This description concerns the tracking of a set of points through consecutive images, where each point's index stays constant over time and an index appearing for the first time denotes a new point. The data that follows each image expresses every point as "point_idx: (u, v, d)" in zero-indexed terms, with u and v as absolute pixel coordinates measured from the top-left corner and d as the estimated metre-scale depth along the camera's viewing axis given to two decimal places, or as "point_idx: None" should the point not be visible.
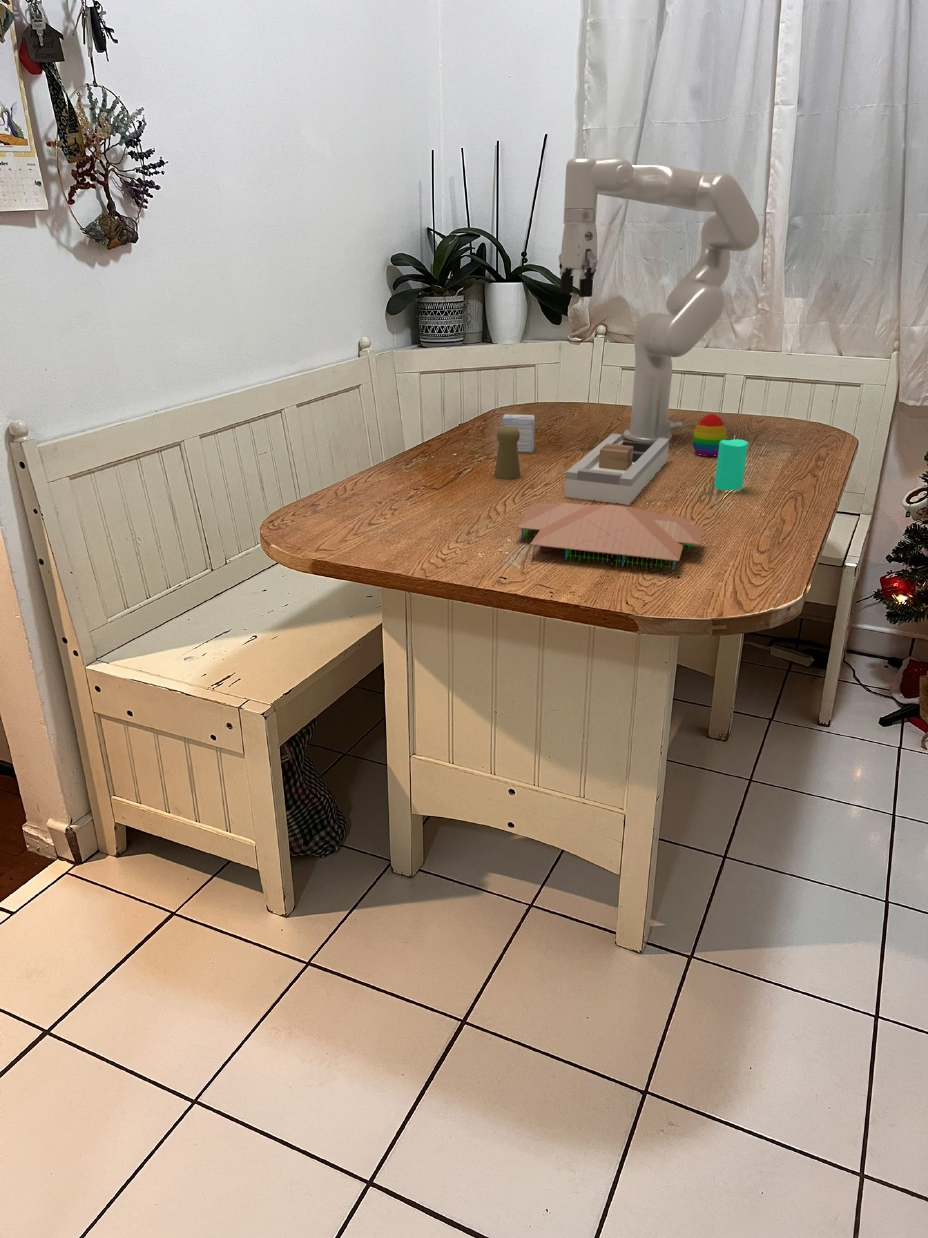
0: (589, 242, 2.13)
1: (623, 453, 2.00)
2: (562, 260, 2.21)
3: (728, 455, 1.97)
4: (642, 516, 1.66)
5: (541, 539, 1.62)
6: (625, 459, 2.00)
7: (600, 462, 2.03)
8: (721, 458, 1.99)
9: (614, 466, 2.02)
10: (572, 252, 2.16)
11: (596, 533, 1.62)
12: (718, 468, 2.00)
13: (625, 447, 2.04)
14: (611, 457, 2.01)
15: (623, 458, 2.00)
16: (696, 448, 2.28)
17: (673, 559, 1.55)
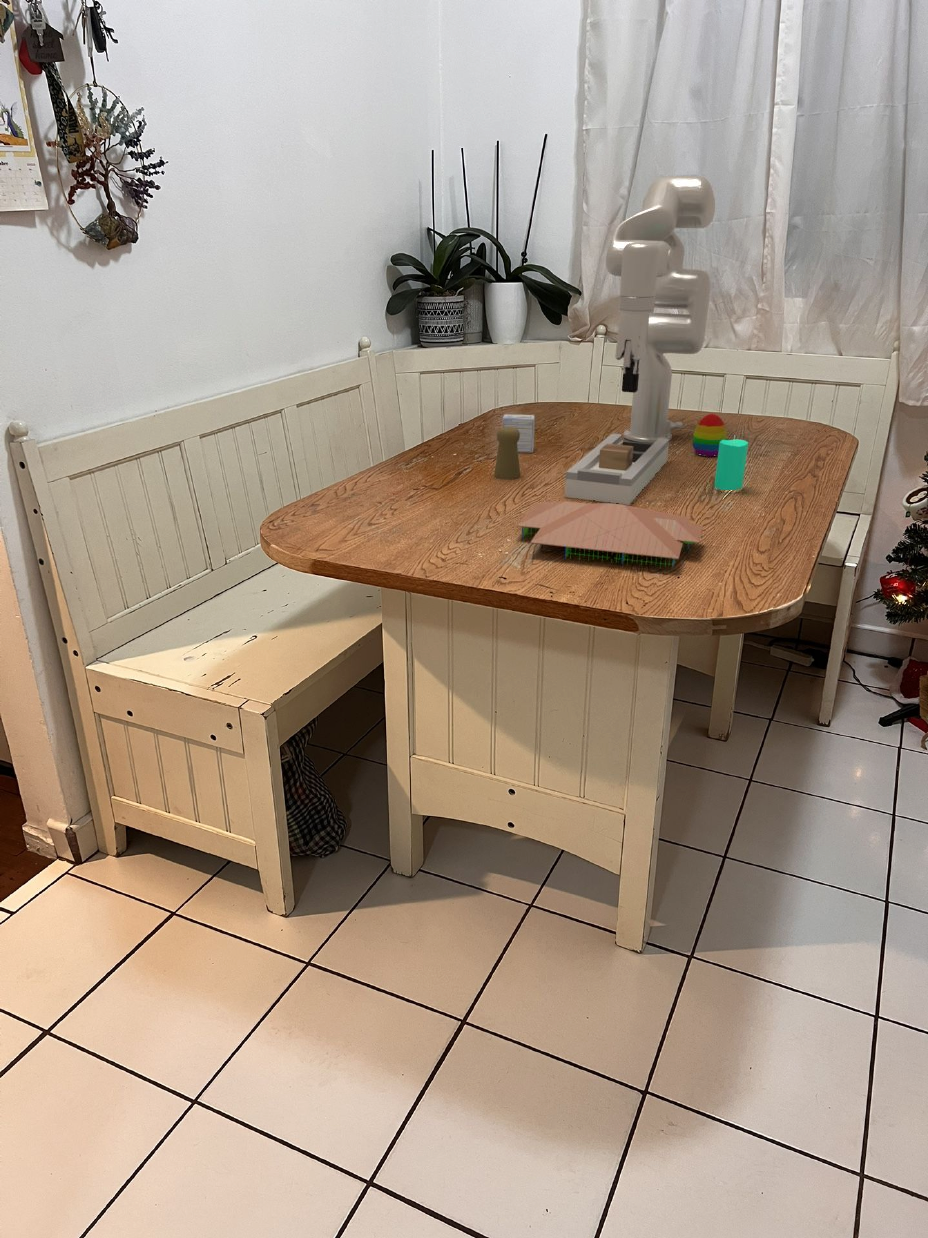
0: None
1: (623, 453, 2.00)
2: (638, 353, 1.98)
3: (728, 455, 1.97)
4: (642, 514, 1.67)
5: (541, 537, 1.63)
6: (625, 459, 2.00)
7: (600, 462, 2.03)
8: (721, 458, 1.99)
9: (614, 466, 2.02)
10: (646, 340, 2.01)
11: (596, 531, 1.63)
12: (718, 468, 2.00)
13: (625, 447, 2.04)
14: (611, 457, 2.01)
15: (623, 458, 2.00)
16: (696, 448, 2.28)
17: (673, 557, 1.56)
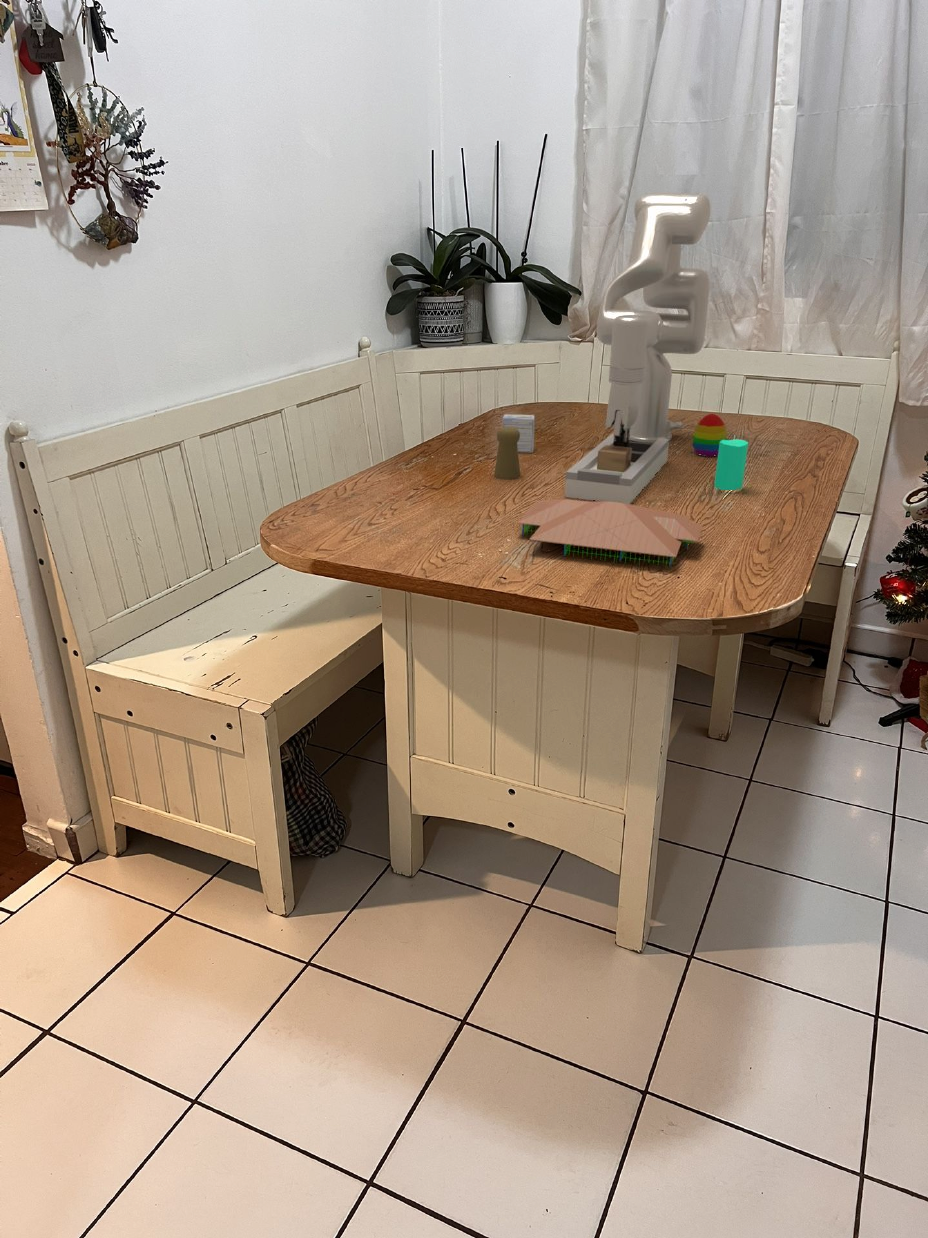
0: None
1: (621, 455, 1.99)
2: (628, 423, 2.00)
3: (728, 455, 1.97)
4: (641, 513, 1.67)
5: (540, 534, 1.65)
6: (623, 460, 1.99)
7: (598, 464, 2.02)
8: (721, 458, 1.99)
9: (612, 468, 2.01)
10: (636, 409, 2.04)
11: (595, 529, 1.64)
12: (718, 468, 2.00)
13: (623, 448, 2.03)
14: (610, 458, 2.00)
15: (621, 459, 1.99)
16: (696, 448, 2.28)
17: (670, 555, 1.57)
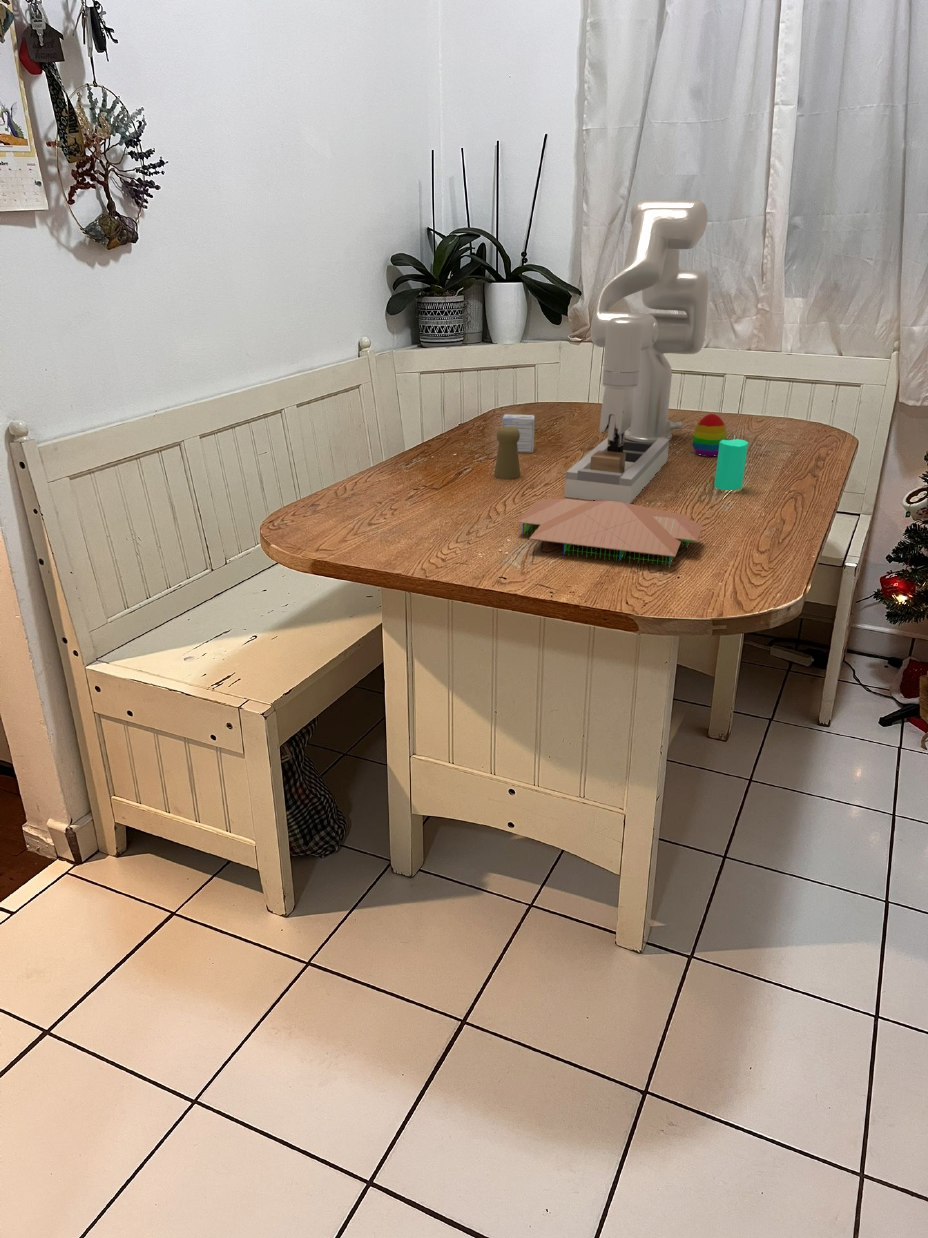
0: None
1: (615, 460, 1.95)
2: (622, 428, 1.96)
3: (728, 455, 1.97)
4: (641, 512, 1.68)
5: (540, 534, 1.65)
6: (617, 466, 1.95)
7: (591, 469, 1.97)
8: (721, 458, 1.99)
9: None
10: (630, 413, 1.99)
11: (594, 528, 1.64)
12: (718, 468, 2.00)
13: (617, 454, 1.98)
14: (603, 464, 1.96)
15: (615, 465, 1.95)
16: (696, 448, 2.28)
17: (669, 555, 1.57)
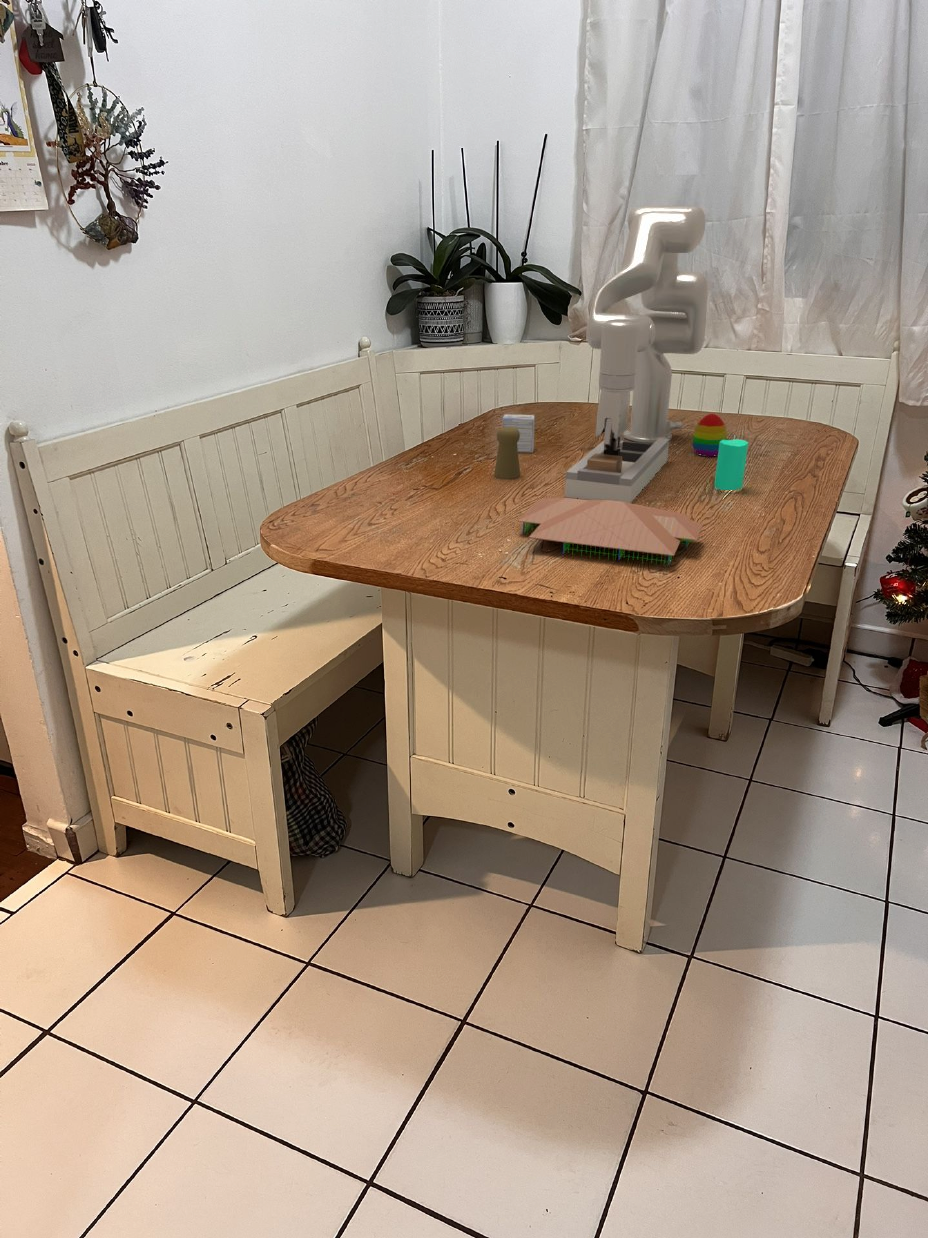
0: None
1: (611, 464, 1.92)
2: (619, 431, 1.94)
3: (728, 455, 1.97)
4: (641, 511, 1.68)
5: (540, 532, 1.66)
6: (613, 470, 1.93)
7: None
8: (721, 458, 1.99)
9: None
10: (627, 416, 1.97)
11: (594, 527, 1.65)
12: (718, 468, 2.00)
13: (614, 457, 1.96)
14: (599, 467, 1.93)
15: (611, 469, 1.93)
16: (696, 448, 2.28)
17: (668, 554, 1.58)
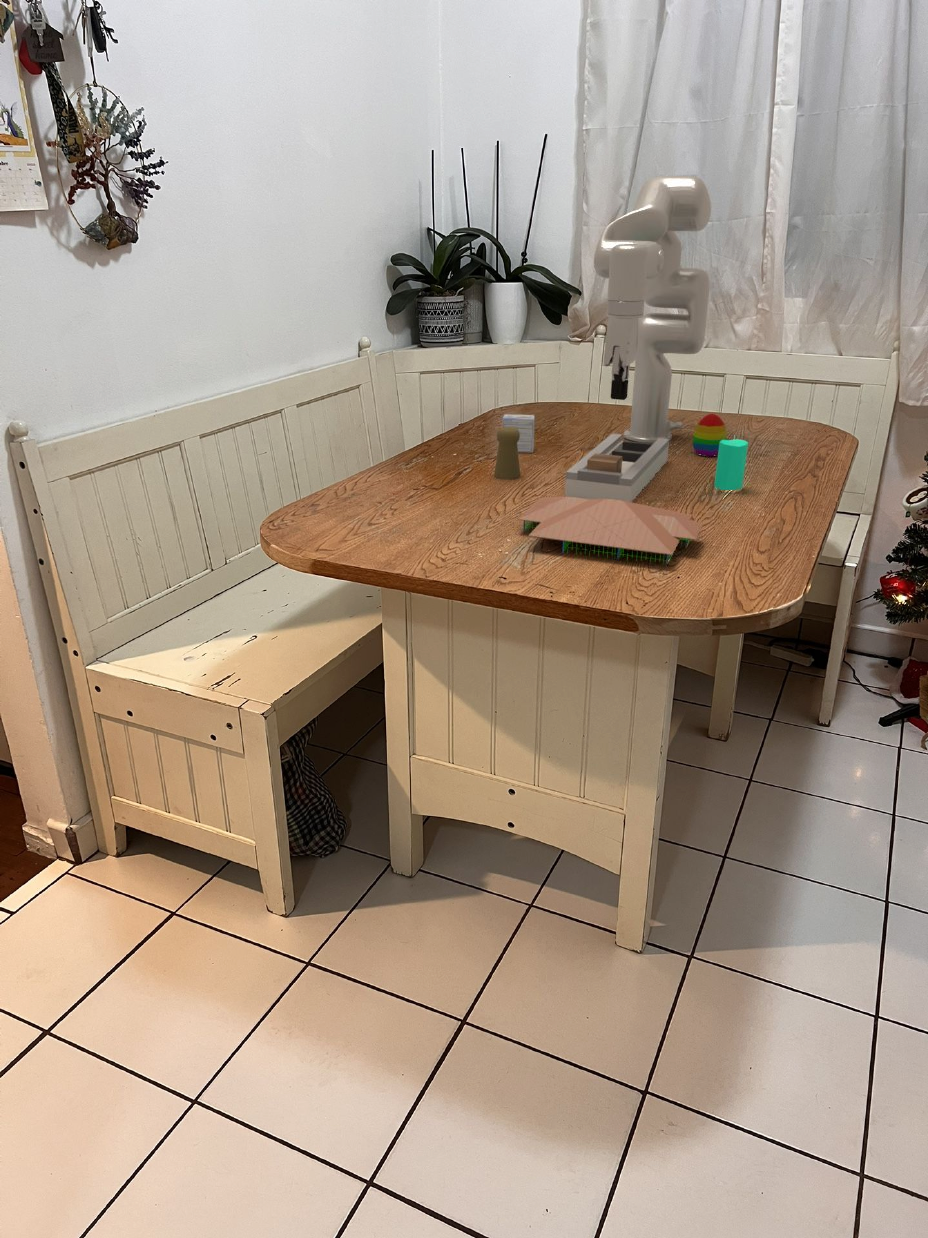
0: None
1: (611, 464, 1.92)
2: (627, 360, 1.90)
3: (728, 455, 1.97)
4: (641, 511, 1.69)
5: (540, 531, 1.66)
6: (613, 470, 1.93)
7: None
8: (721, 458, 1.99)
9: None
10: (635, 345, 1.93)
11: (593, 526, 1.65)
12: (718, 468, 2.00)
13: (614, 457, 1.96)
14: (599, 467, 1.93)
15: (611, 469, 1.93)
16: (696, 448, 2.28)
17: (667, 553, 1.58)
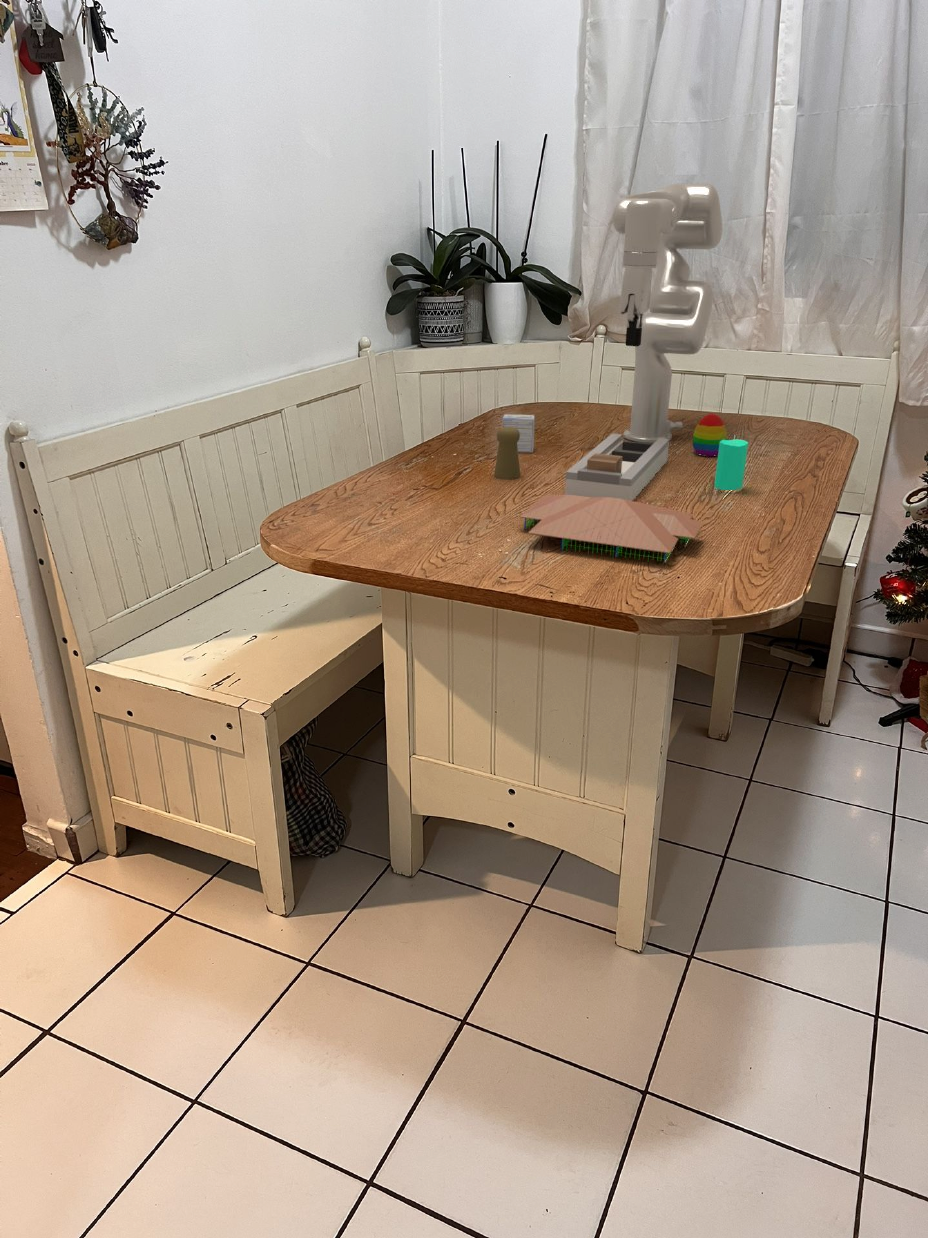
0: None
1: (611, 464, 1.92)
2: (641, 307, 2.06)
3: (728, 455, 1.97)
4: (641, 509, 1.69)
5: (539, 528, 1.68)
6: (613, 470, 1.93)
7: None
8: (721, 458, 1.99)
9: None
10: (649, 295, 2.09)
11: (593, 524, 1.66)
12: (718, 468, 2.00)
13: (614, 457, 1.96)
14: (599, 467, 1.93)
15: (611, 469, 1.93)
16: (696, 448, 2.28)
17: (664, 551, 1.59)
